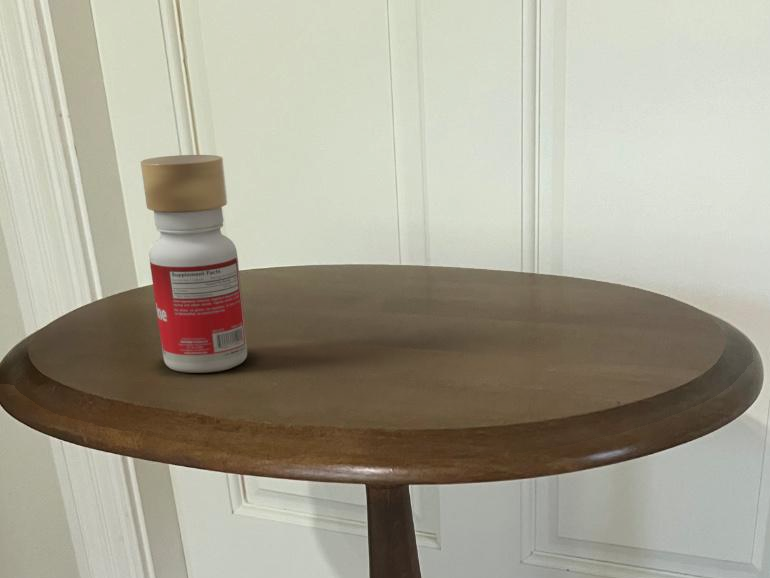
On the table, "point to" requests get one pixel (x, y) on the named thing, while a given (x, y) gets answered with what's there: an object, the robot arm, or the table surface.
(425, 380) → the table surface
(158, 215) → the pill bottle
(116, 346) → the table surface
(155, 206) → the squat tan drum
